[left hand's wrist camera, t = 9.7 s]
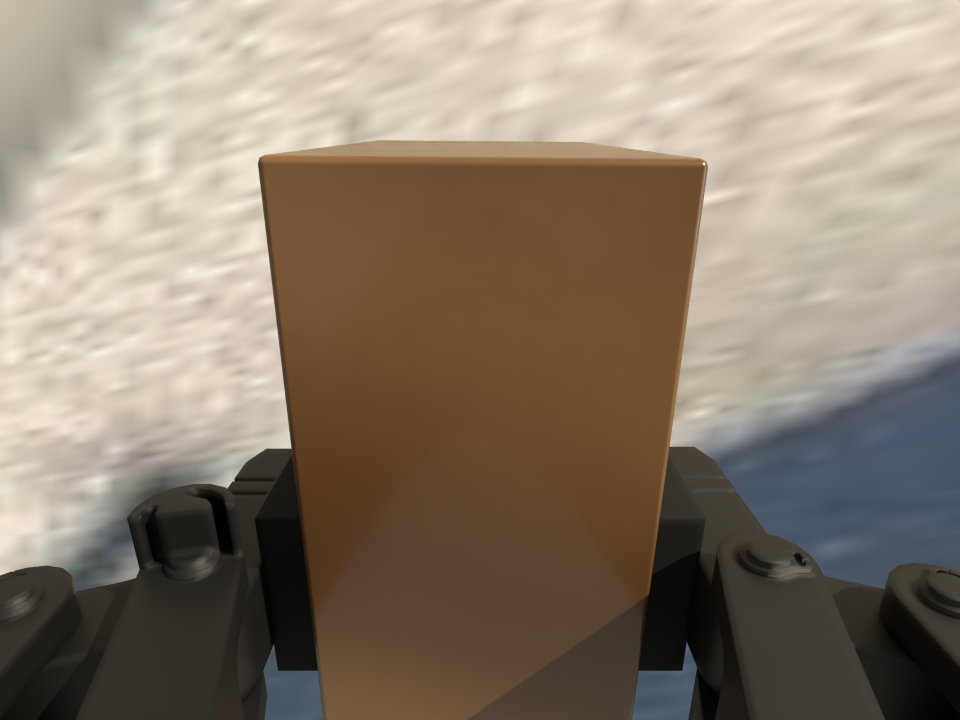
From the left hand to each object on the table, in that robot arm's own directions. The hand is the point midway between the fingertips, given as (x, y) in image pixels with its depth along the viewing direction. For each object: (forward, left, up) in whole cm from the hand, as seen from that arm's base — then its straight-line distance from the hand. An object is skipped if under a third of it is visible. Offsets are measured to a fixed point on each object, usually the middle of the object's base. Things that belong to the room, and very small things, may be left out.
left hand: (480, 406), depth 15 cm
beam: (+3, +29, -1) cm, 30 cm away
